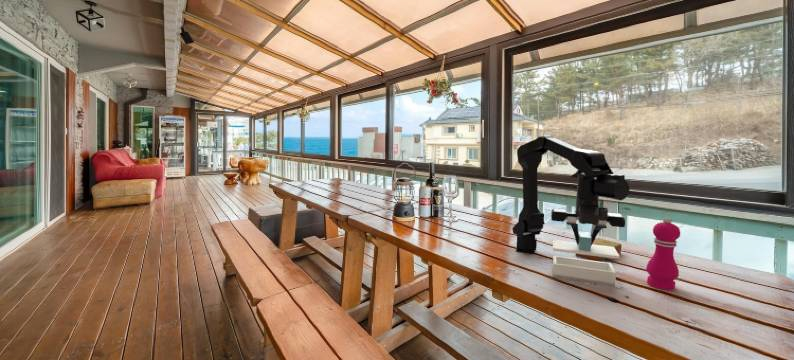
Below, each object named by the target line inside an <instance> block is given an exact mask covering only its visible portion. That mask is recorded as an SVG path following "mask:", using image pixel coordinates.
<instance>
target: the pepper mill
mask: <svg viewBox="0 0 794 360" xmlns="http://www.w3.org/2000/svg"><path fill="white" fill-rule="evenodd" d="M652 233H653V235H654V236H655V237H654V238H653V240H654V241H653V243H654V244H655V249H654V254H653V255H652V256H651V258H650V259H649V260H648V262H647V264H646V268H645V269H646V273H648V276H647V277H646V283H647V285H649V286H651V287H653V288H655V289H659V290H662V291H673V290H675V289H676V281H675V280H676V279H678V277H679V275H680V273H679V271H680V269H679V267H678V265H677V263H676V261H675V256H674V250H675V248H676V247H677V246H678V245H677V243H678V242H677V240H678V239H679V238H680V237H681V229H680V228H679V227H678V226H677V225H676V224H674V223H672V218H671V217H667V216H666V217H664V218H663V221H660V222H657V223H656V224H655V225H654V226H653V228H652Z"/></svg>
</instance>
